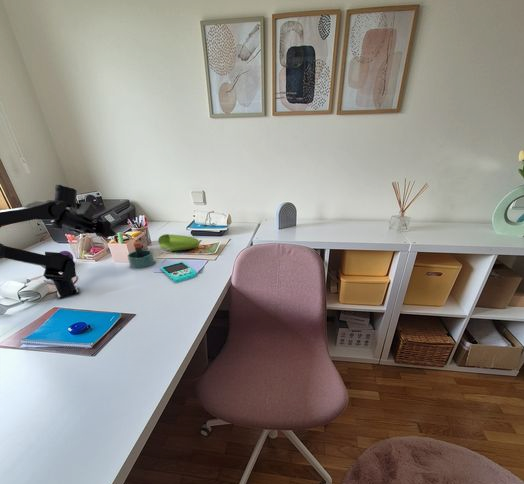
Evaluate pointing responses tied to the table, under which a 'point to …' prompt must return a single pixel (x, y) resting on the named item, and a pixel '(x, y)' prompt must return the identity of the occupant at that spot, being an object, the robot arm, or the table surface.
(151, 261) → the pen pot
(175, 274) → the handheld game console
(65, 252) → the kendama
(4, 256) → the robot arm
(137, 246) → the marker
